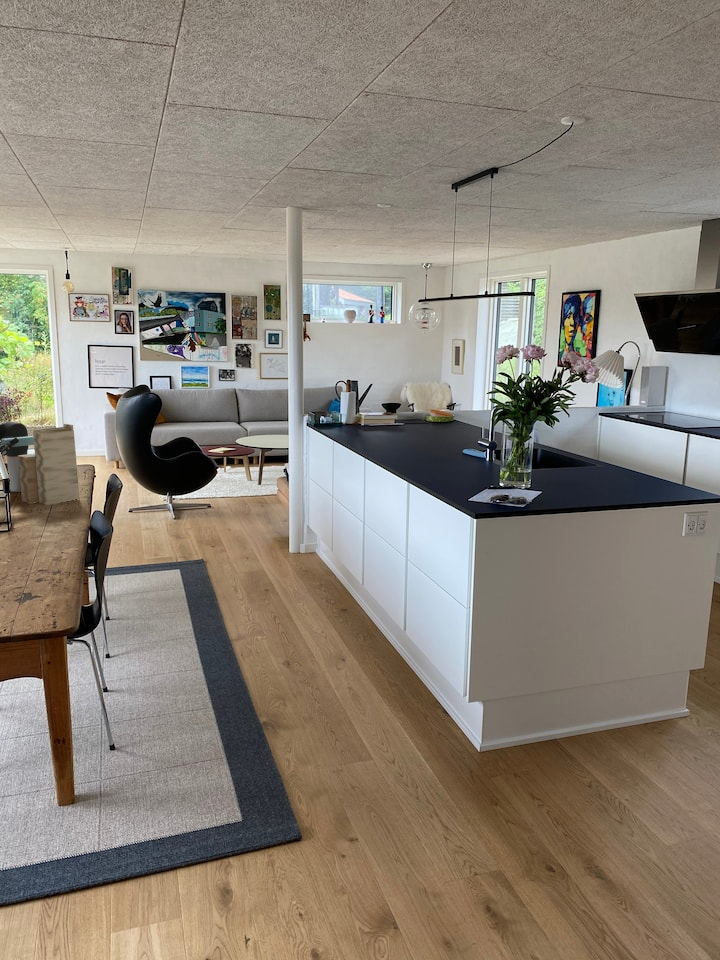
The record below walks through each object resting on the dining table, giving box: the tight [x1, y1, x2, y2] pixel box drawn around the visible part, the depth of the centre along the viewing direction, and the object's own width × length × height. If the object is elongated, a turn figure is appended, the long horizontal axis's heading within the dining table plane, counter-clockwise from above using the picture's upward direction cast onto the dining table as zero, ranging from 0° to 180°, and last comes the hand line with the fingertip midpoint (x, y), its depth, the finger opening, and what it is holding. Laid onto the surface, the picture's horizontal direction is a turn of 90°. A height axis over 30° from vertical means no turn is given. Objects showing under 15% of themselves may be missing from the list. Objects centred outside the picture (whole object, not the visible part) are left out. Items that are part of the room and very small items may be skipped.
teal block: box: [0, 435, 34, 447], centre depth 330 cm, size 4×22×4 cm, turn 138°
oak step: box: [18, 453, 39, 505], centre depth 336 cm, size 8×14×21 cm, turn 138°
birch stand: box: [32, 423, 80, 506], centre depth 332 cm, size 8×15×34 cm, turn 138°
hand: (15, 438), depth 325 cm, fingers closed on teal block, 3 cm apart
